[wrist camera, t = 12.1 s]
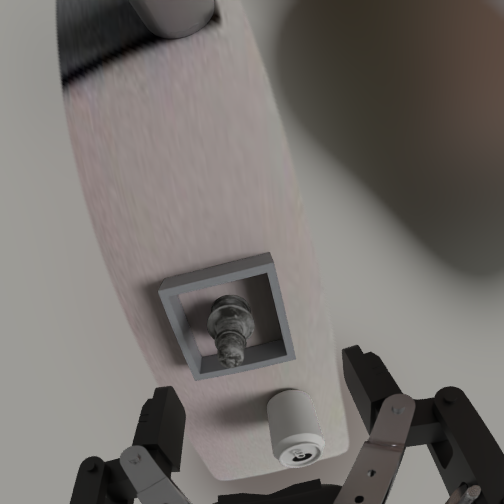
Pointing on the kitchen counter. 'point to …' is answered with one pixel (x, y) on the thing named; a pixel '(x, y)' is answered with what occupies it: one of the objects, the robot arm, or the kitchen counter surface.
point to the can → (294, 429)
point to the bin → (216, 276)
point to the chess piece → (230, 329)
